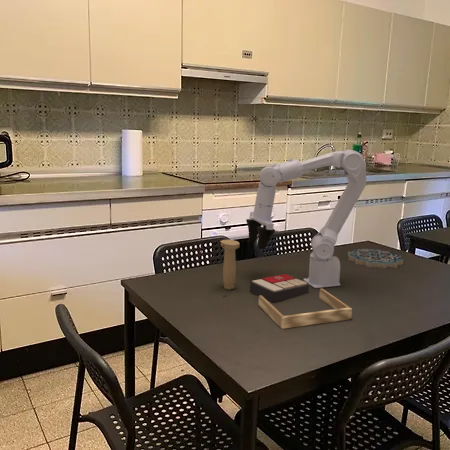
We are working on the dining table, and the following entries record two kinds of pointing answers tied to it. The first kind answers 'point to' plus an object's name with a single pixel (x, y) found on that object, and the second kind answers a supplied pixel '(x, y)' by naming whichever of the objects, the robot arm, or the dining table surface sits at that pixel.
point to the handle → (229, 263)
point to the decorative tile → (375, 258)
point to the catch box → (336, 314)
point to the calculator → (278, 287)
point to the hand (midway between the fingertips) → (256, 244)
